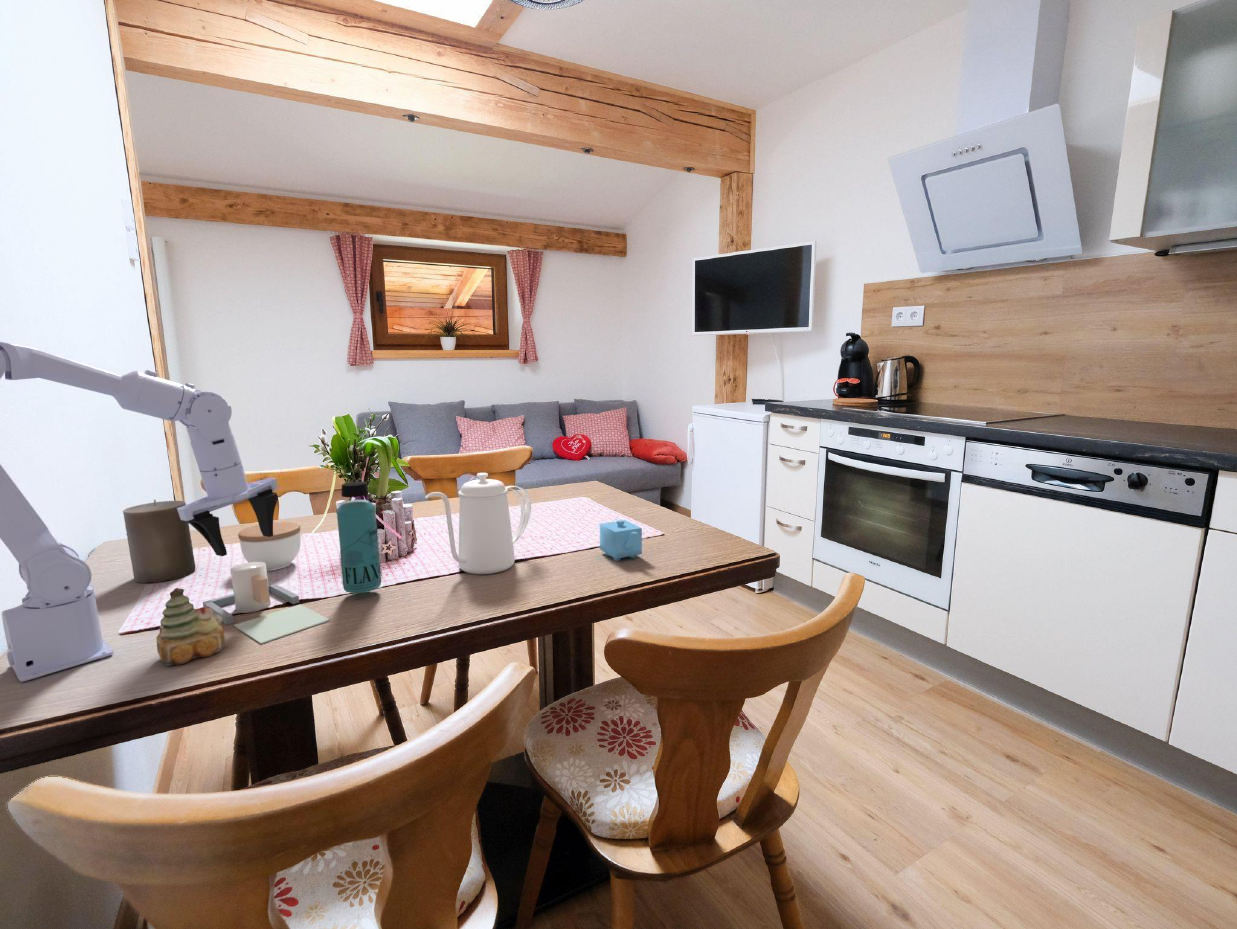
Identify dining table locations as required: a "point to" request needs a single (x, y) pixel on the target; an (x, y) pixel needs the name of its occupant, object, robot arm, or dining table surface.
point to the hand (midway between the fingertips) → (245, 544)
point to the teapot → (620, 539)
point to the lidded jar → (271, 545)
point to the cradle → (229, 599)
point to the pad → (280, 623)
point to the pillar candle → (158, 542)
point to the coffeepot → (485, 525)
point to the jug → (250, 587)
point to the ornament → (188, 631)
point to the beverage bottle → (358, 541)
